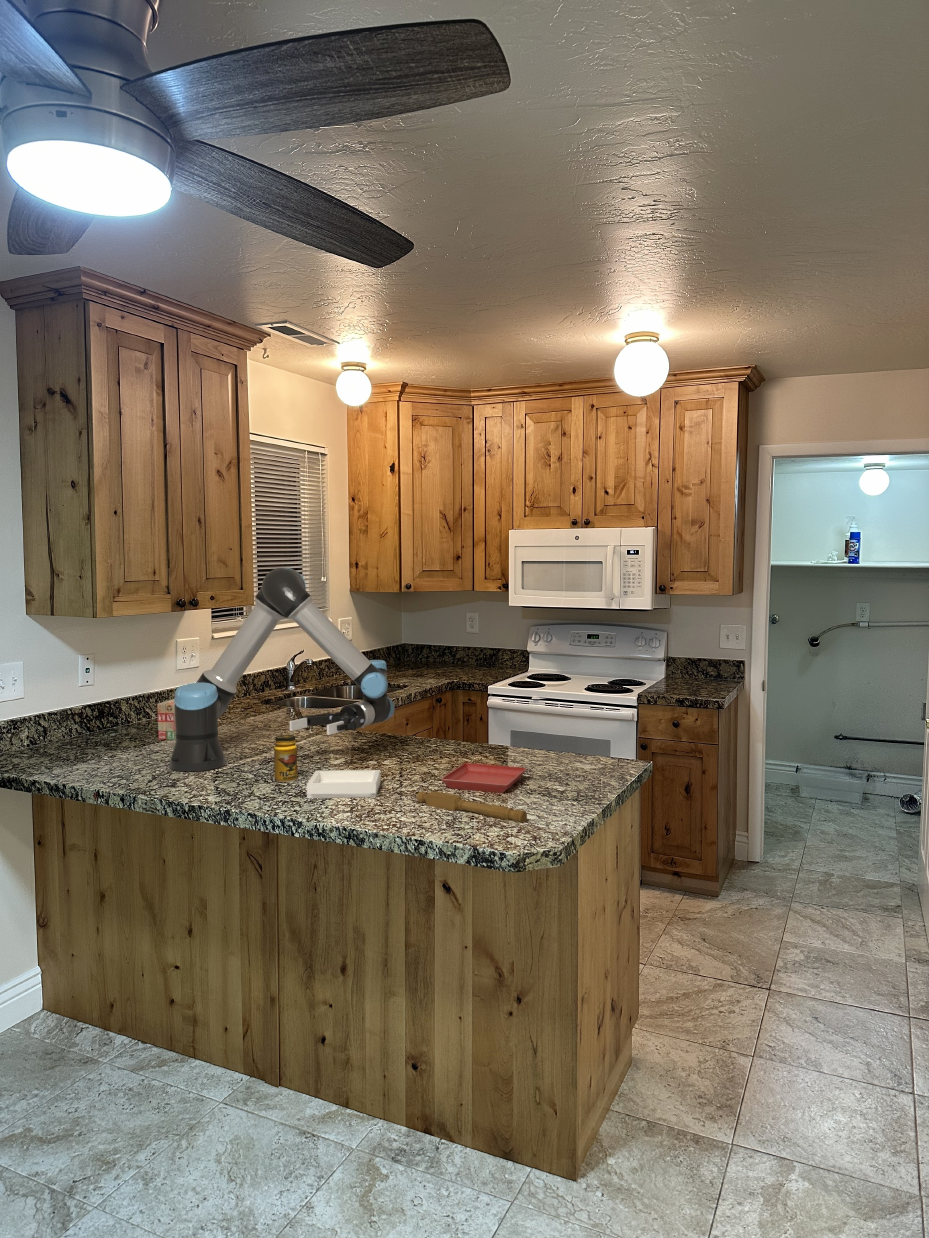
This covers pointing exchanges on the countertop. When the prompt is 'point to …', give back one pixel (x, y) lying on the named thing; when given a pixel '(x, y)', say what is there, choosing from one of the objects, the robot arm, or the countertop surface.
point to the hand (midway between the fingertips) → (308, 728)
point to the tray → (344, 784)
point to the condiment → (285, 759)
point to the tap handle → (470, 806)
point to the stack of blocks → (166, 720)
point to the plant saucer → (483, 777)
